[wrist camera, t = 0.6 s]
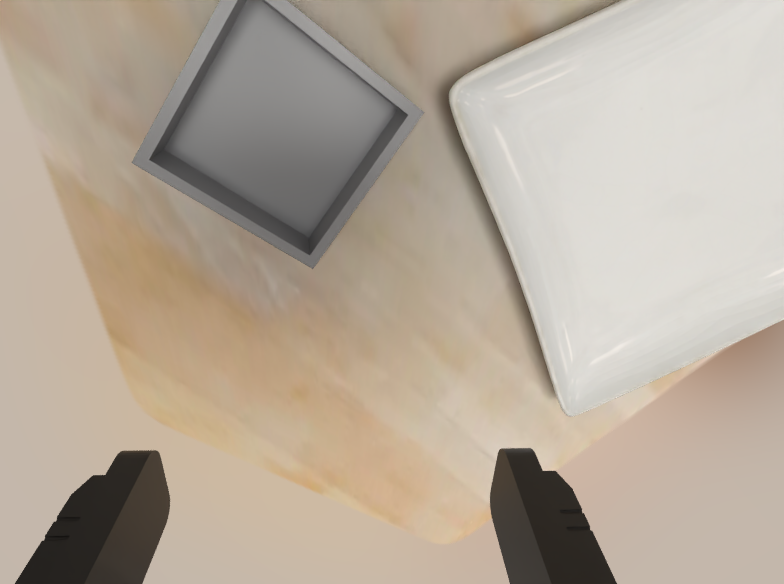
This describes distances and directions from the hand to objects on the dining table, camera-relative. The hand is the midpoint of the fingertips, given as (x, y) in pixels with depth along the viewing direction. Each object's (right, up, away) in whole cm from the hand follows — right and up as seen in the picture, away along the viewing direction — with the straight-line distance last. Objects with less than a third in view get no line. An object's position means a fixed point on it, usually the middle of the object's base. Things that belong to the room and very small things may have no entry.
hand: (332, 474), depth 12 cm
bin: (-5, +14, +17) cm, 22 cm away
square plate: (+21, +12, +23) cm, 34 cm away
